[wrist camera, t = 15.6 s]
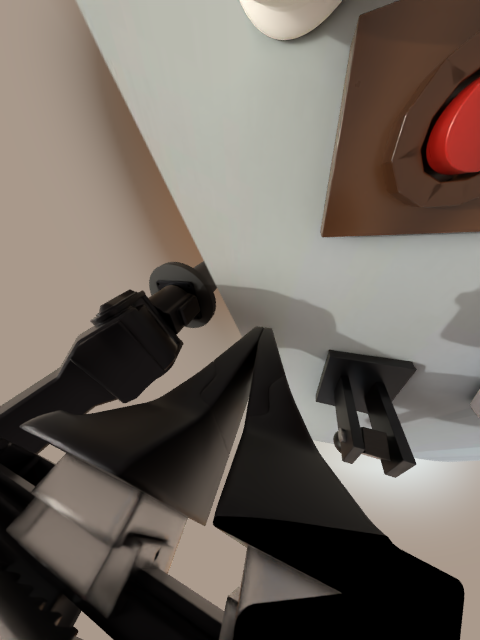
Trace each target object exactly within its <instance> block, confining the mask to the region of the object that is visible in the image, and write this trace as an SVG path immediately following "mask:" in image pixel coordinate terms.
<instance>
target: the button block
mask: <svg viewBox="0 0 480 640" xmlns="http://www.w3.org/2000/svg"><path fill="white" fill-rule="evenodd" d="M479 77H480V0H399V1H396V2H394V3H391V4H388V5H386V6H383V7H380V8H378V9H375V10H372V11H370V12H367V13H364V14H361V15H360V16H359V19H358V22H357V26H356V29H355V33H354V36H353V39H352V43H351V47H350V53H349V59H348V65H347V72H346V78H345V84H344V90H343V96H342V102H341V108H340V115H339V121H338V127H337V133H336V139H335V145H334V151H333V157H332V164H331V170H330V176H329V182H328V188H327V194H326V200H325V207H324V213H323V219H322V225H321V231H320V233H321V236H322V237H343V236H371V235H398V234H425V233H452V232H479V231H480V172H473V173H464V174H456V175H443V174H440V173H437V172H435V171H434V170H433V169H432V168H431V167H430V166H429V164H428V161H427V156H426V149H427V143H428V139H429V136H430V133H431V131H432V129H433V127H434V125H435V123H436V121H437V120H438V118H439V117H440V115H441V114H442V112H443V111H444V110H445V108H446V107H447V106H448V105H449V103H450V102H451V101H452V100H453V99H454V98H455V97H456V96H457V95H458V94H459V93H460V92H461V91H462V90H463V89H464V88H466V87H467V86H468V85H469V84H470V83H472V82H473V81H474V80H476V79H477V78H479Z"/></svg>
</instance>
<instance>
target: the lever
mask: <svg viewBox="0 0 480 640" xmlns="http://www.w3.org/2000/svg"><path fill="white" fill-rule="evenodd" d="M360 429H361V434H362V438H363V443H364V447H365V450H364V451H363V452H362V453H361V454H364V455H367V456H370V457H374V458H377V459H382V460H388V461H391V457H390V452H389V446H388V440H387V434H386V433H385V432H381V431H377V430H373V429H369V428H365V427H360ZM333 440H334V445H335V447H336V448H337V450H338V451H339V452H340V453H341V446H340V441H339V436H338V431H337V432H336V433H335V435H334V439H333Z"/></svg>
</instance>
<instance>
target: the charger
mask: <svg viewBox="0 0 480 640" xmlns="http://www.w3.org/2000/svg"><path fill="white" fill-rule="evenodd" d="M470 407H471V408H472V409H473V411H474V412H475V413H476V415H477V416H478V417H479V418H480V389H479V390H478V392H477V394H476V395H475V397H474V399H473V400H472V402H471V403H470Z"/></svg>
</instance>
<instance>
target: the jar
mask: <svg viewBox="0 0 480 640" xmlns="http://www.w3.org/2000/svg"><path fill="white" fill-rule="evenodd" d="M341 1H342V0H240V3H241V5H242V7H243V9H244V11H245V13H246V14H247V16H248V18H249V19H250V20H251V22H252V23H253V24H254V25H255V27H256V28H257V29H258V30H260V31H261V32H262V33H264V34H265V35H267V36H269V37H271V38H274V39H278V40H290V39H295V38H298V37H300V36H303V35H305V34H307V33H308V32H310V31H312V30H313V29H314V28H316V27H317V26H318V25H320V24H321V23H322V22H323V21H324V20H325V19H326V18H327V17H328V16H329V15H330V14H331V13H332V12H333V11H334V10H335V9H336V8H337V6H338V5H339V4H340V3H341Z"/></svg>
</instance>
